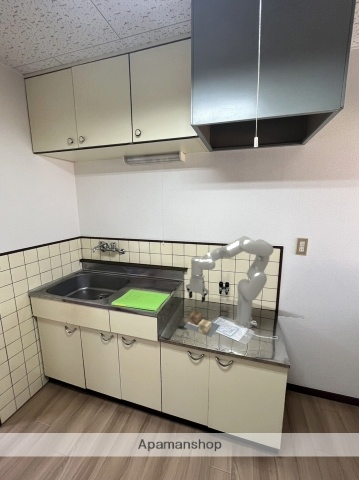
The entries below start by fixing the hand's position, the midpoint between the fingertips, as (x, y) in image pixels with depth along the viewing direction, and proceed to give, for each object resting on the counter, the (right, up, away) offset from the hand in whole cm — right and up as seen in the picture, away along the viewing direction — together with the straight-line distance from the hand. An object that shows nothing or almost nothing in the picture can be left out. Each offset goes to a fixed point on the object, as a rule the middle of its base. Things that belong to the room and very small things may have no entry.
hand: (196, 299), depth 148 cm
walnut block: (-1, -17, +5) cm, 17 cm away
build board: (+4, -18, +1) cm, 19 cm away
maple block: (+5, -19, -5) cm, 20 cm away
